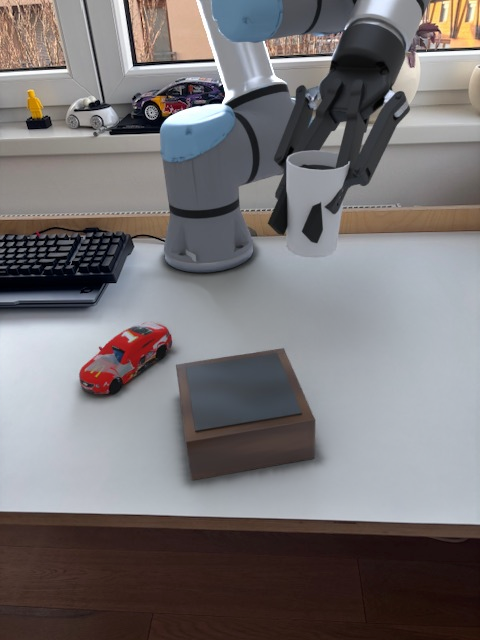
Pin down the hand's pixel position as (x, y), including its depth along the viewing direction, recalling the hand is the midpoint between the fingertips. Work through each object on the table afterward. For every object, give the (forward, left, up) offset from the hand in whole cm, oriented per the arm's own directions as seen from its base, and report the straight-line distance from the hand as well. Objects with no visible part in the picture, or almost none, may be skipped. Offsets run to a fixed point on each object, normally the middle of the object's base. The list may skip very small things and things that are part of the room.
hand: (292, 233), depth 59 cm
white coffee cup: (-3, +3, -3) cm, 5 cm away
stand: (+11, -8, -16) cm, 21 cm away
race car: (-3, -20, -16) cm, 26 cm away
